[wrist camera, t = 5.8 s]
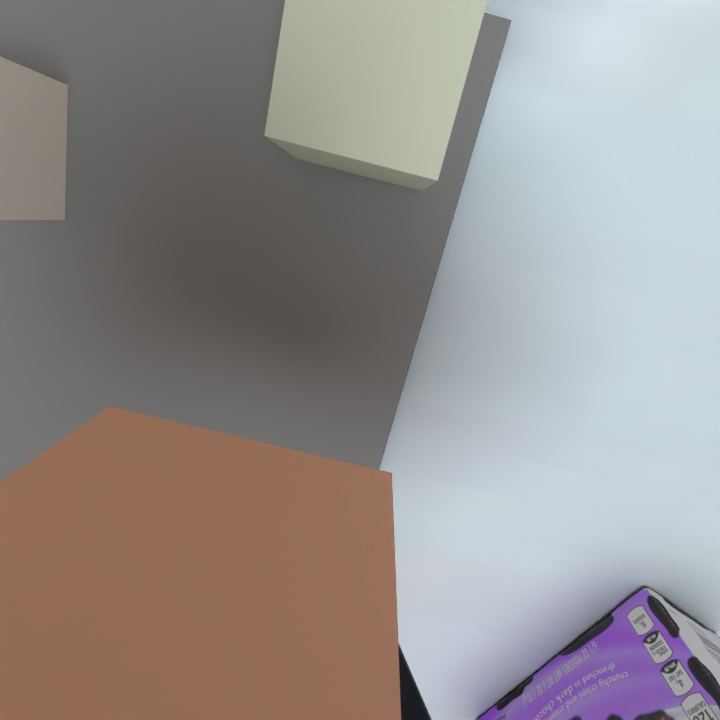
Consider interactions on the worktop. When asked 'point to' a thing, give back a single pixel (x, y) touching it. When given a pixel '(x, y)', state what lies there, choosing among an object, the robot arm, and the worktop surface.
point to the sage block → (372, 84)
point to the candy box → (627, 671)
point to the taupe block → (32, 144)
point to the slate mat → (210, 241)
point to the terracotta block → (195, 580)
